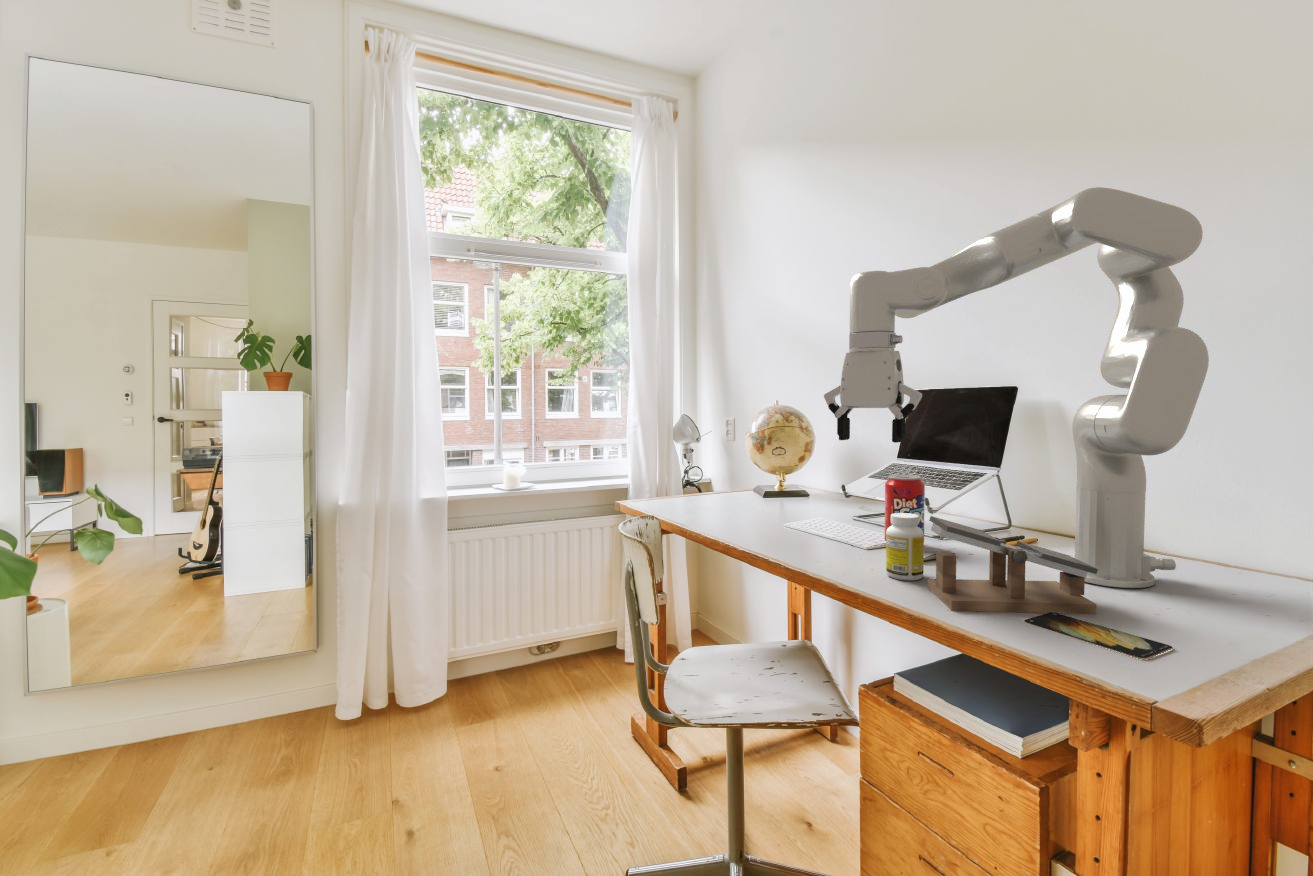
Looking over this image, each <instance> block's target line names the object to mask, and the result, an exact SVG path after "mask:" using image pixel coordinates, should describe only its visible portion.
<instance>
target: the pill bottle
mask: <svg viewBox="0 0 1313 876" xmlns="http://www.w3.org/2000/svg"><path fill="white" fill-rule="evenodd" d="M891 523H892V526H890V527H889V528H888V529H887V531H886V542H885V545H886V546H885V549H886V552H885V555H886V556H885V557H886V559H885V560H886V562H885V563H886V564H885V566H886V567H885V569H886V574H887V576H888V577H890V578H892V579H895V580H899V581H918V580H921V579H922V578H923V577H924V562H925V561H924V559H925V558H924V557H925V556H924V554H925V553H924V552H925V551H924V548H925V547H924V543H925V534H924V535H923V531H922V530H921V529H920V528H919V527H918V526H917V525H918V524H919V516H918V515H916V514H911V513H894V514H891Z"/></svg>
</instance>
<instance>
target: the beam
mask: <svg viewBox="0 0 1313 876" xmlns="http://www.w3.org/2000/svg"><path fill="white" fill-rule="evenodd" d="M928 521H929V522H931V523H932V526H931V528H930V531H932V532H933V533H935V534H936V535H938V536H939V537H943V538H945V539H949V540H953V541H956V542H961V543H964V544H966V545H970V546H974V547H978V548H981V549H985V550H988V551H990V550H991V551H994V552H998V553H1001V554H1005V555H1006V556H1008V549H1022V550H1024V551H1026V554H1027V560H1026V562H1030V563H1031V564H1036V565H1039V566H1043V567H1047V568H1050V569H1054V570H1057V571H1059V572H1067V573H1070V574H1074V575H1077V576H1081V577H1084V578H1086V576H1087V573H1088V572H1090V573H1093V574H1097V571H1098V569H1097V568H1094V567H1092V566H1090V565H1088V564H1086V563H1084V562H1082V561H1080V560H1077V559H1075V557H1074V556H1071V555H1068V554H1066V553H1062V552H1059V551H1055V550H1052V549H1047V548H1044V547H1041V546H1038V545H1035V544H1034V545H1033V544H1030V543H1027V542H1023V541H1020V540H1017V541H1016V545H1012V544H1008V543H1006V544H1005V543H1001V542H1002V541H1000V540H1001V539H1000V540H998V539H996V538H994V537H995V536H992V535H991V534H989V533H987V532H986V531H985V532H984V531H982V530H981V529H978V528H974V527H972V526H967V525H964V524H960V523H957V522H953V521H950V520H946V519H943V518H939V517H937V516H932V515H930V517H929V520H928Z"/></svg>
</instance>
